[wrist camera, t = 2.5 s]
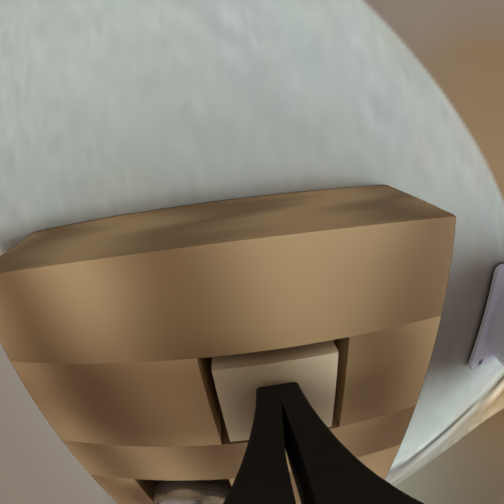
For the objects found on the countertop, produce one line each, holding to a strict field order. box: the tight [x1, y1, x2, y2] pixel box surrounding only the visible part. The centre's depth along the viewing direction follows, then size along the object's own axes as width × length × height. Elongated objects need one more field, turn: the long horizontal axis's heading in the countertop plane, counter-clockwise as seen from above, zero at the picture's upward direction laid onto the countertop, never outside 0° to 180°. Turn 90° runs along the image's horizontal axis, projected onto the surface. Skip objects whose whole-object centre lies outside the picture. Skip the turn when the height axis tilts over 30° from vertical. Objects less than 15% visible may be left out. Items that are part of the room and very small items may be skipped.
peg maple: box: [211, 340, 339, 442], centre depth 13 cm, size 4×4×5 cm
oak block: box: [0, 185, 456, 504], centre depth 15 cm, size 16×22×5 cm
